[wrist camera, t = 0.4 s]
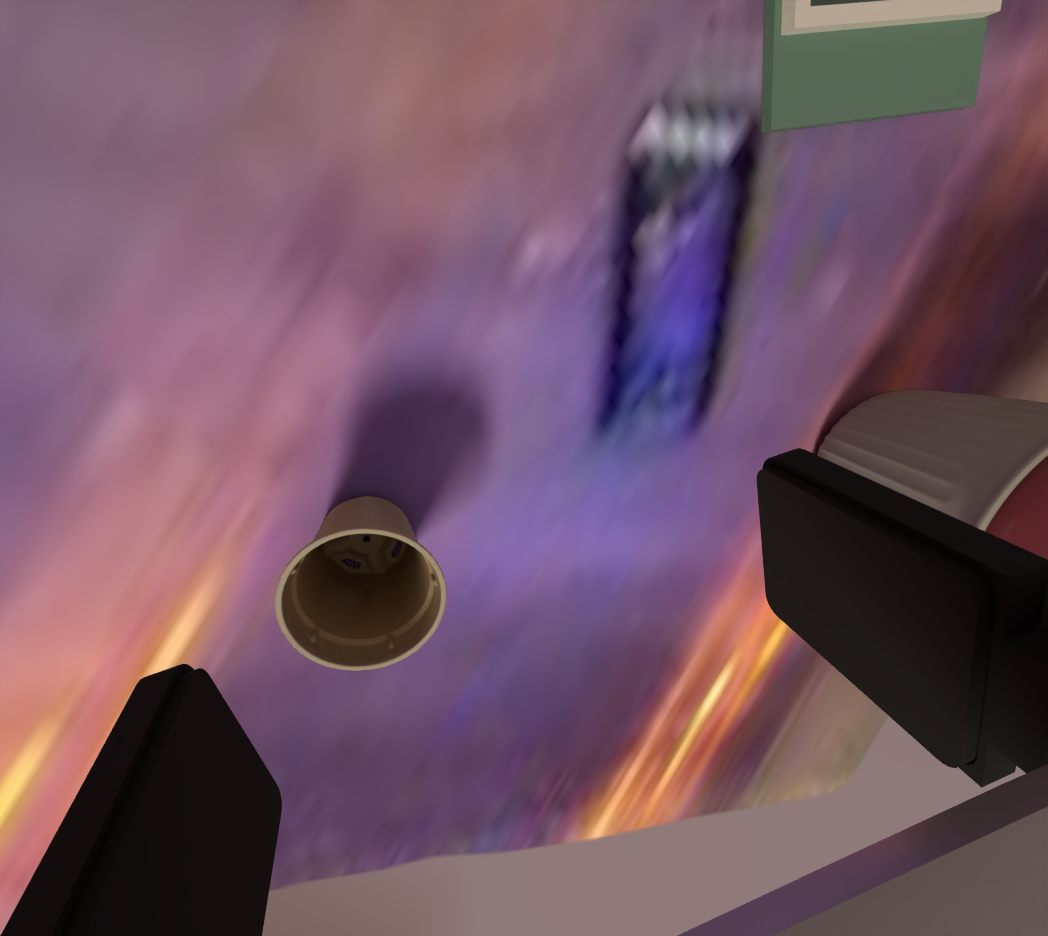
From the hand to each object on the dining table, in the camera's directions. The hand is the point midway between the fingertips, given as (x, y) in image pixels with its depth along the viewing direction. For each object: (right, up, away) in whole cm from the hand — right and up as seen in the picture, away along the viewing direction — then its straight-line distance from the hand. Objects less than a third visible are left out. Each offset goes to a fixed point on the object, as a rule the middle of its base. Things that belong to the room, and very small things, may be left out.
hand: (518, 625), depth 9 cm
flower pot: (-11, -2, +31) cm, 33 cm away
